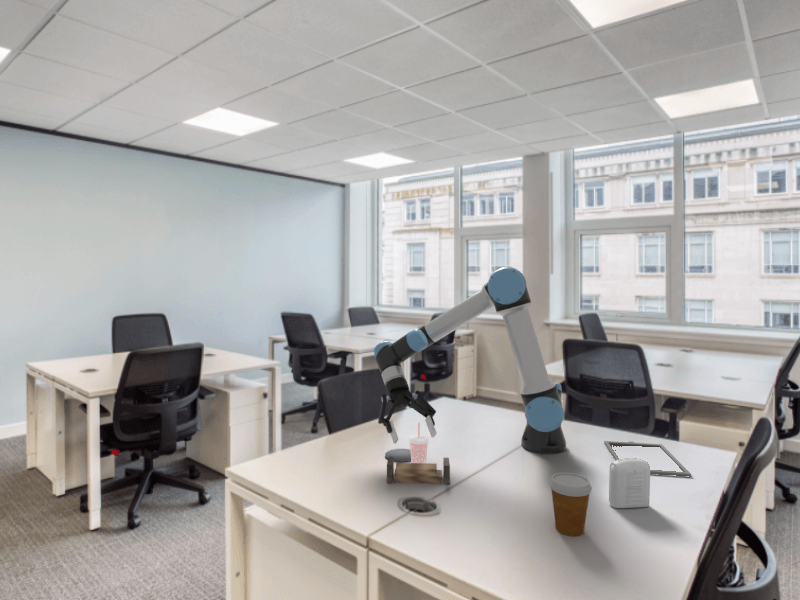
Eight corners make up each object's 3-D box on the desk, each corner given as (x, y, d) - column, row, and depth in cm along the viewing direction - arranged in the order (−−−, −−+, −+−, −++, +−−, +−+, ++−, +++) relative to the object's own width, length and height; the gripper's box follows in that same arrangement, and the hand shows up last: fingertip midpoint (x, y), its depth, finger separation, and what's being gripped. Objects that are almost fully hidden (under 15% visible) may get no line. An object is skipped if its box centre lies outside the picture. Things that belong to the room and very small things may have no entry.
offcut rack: (448, 475, 148) (448, 457, 148) (449, 484, 142) (449, 465, 142) (388, 474, 149) (388, 456, 149) (386, 483, 143) (386, 464, 143)
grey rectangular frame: (622, 469, 150) (602, 438, 180) (622, 474, 151) (602, 442, 180) (691, 474, 147) (659, 441, 176) (691, 479, 147) (659, 446, 176)
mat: (424, 454, 166) (424, 453, 166) (404, 464, 157) (404, 462, 157) (398, 448, 172) (398, 446, 172) (378, 457, 164) (378, 455, 164)
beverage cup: (409, 462, 159) (409, 419, 158) (428, 463, 158) (428, 420, 158) (409, 470, 152) (409, 425, 152) (428, 470, 152) (428, 425, 152)
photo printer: (642, 500, 132) (642, 454, 131) (652, 507, 127) (653, 460, 127) (606, 502, 130) (606, 456, 130) (615, 510, 126) (616, 462, 125)
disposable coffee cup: (542, 520, 121) (543, 472, 120) (580, 518, 121) (580, 471, 121) (558, 541, 111) (558, 488, 111) (598, 539, 112) (599, 487, 111)
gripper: (423, 385, 177) (445, 438, 164) (358, 392, 166) (375, 449, 153) (430, 373, 172) (453, 427, 159) (364, 379, 161) (382, 438, 148)
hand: (415, 438), depth 156 cm, fingers open, 13 cm apart
